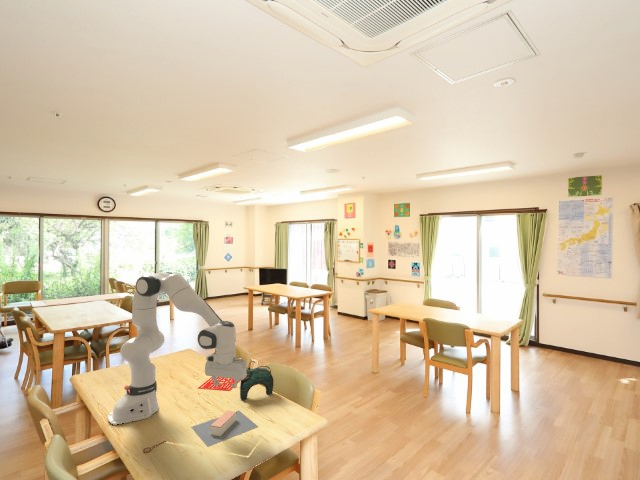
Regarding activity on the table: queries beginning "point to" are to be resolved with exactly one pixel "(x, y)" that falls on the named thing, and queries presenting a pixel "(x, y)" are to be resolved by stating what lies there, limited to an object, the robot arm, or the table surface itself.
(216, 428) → the block
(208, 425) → the mat
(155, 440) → the table surface
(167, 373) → the table surface
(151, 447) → the key
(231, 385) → the maze puzzle
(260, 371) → the ceramic cat
